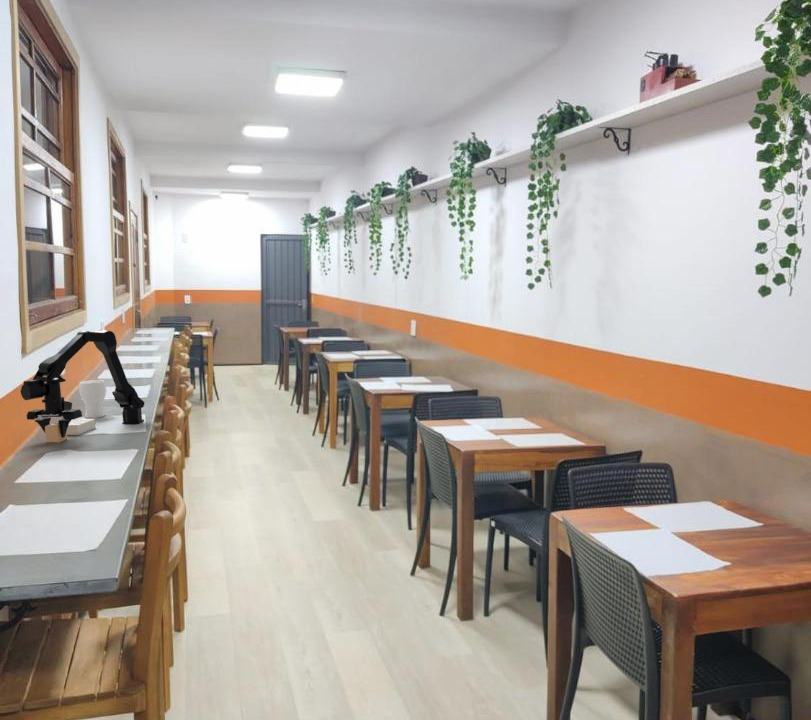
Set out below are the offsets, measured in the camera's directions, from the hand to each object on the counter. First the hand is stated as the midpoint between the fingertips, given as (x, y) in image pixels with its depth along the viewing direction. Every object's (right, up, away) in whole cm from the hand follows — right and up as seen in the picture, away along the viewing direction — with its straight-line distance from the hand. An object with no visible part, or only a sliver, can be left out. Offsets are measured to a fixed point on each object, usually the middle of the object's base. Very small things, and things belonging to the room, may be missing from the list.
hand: (56, 437), depth 274 cm
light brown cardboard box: (0, -1, 0) cm, 1 cm away
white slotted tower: (+2, +1, +15) cm, 15 cm away
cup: (-4, +4, +44) cm, 45 cm away
